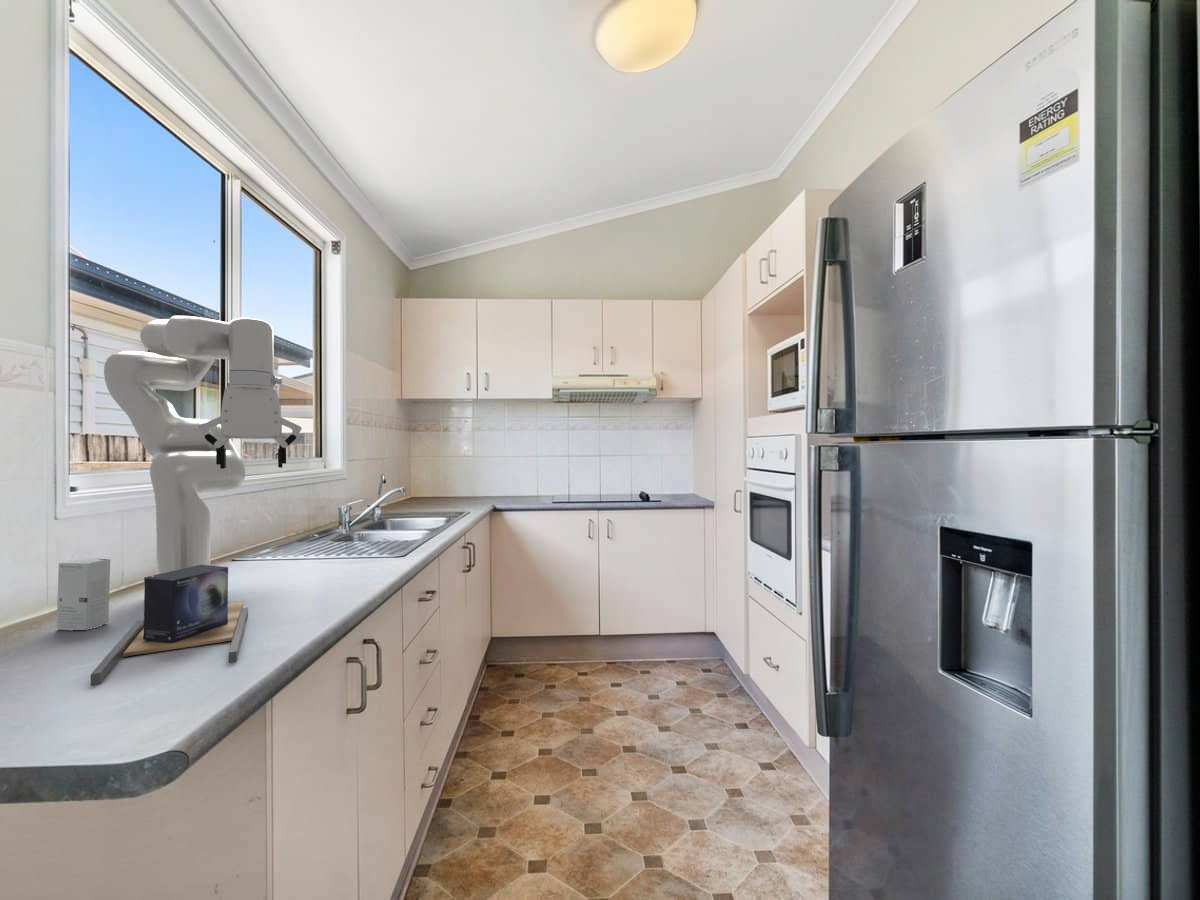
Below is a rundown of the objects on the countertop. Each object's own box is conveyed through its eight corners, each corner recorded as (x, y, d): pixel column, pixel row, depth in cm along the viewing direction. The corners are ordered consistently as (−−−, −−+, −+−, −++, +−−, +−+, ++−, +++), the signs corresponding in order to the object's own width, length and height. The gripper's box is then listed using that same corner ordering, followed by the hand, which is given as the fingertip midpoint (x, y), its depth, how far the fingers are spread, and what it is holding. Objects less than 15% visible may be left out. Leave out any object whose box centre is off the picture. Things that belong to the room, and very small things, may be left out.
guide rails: (136, 629, 97) (136, 621, 97) (247, 615, 105) (247, 607, 105) (90, 685, 74) (90, 674, 74) (236, 661, 82) (236, 651, 82)
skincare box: (55, 630, 96) (54, 562, 96) (80, 622, 101) (80, 557, 101) (87, 631, 96) (86, 563, 96) (112, 623, 100) (111, 557, 100)
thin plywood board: (156, 614, 105) (156, 580, 105) (243, 603, 112) (243, 572, 112) (123, 656, 84) (122, 614, 84) (232, 640, 91) (232, 601, 91)
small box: (174, 644, 88) (173, 579, 88) (141, 641, 89) (140, 577, 89) (230, 623, 98) (230, 565, 98) (200, 621, 99) (200, 563, 99)
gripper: (300, 386, 116) (301, 466, 116) (201, 381, 107) (201, 468, 108) (301, 382, 110) (302, 467, 110) (195, 377, 101) (196, 469, 101)
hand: (252, 467), depth 109 cm, fingers open, 9 cm apart
